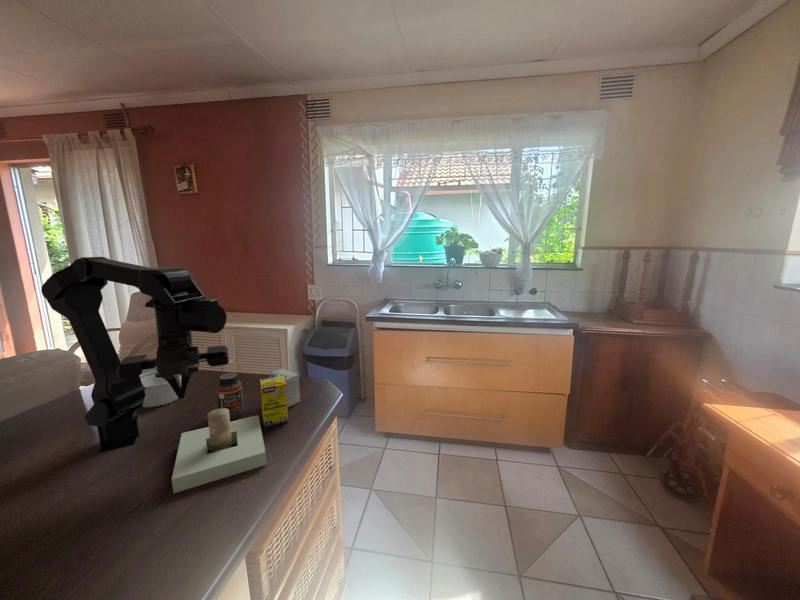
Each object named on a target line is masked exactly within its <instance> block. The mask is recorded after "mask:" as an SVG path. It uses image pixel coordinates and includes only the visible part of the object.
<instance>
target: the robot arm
mask: <svg viewBox="0 0 800 600" xmlns="http://www.w3.org/2000/svg"><path fill="white" fill-rule="evenodd" d="M108 282H113V283H118V284H122V285H126V286H131V287H134V288H137V289H138V290H139V292H140V293H141V294H144V295H146V296H148V297H150V298H151V299H150V300H148V301H147V302H146V303H145V304H144V307H145V308H150V309H151V308H152V309H154V315H155V317H154V318H155V325H156V334H157V341H158V342H157V344H158V346H157V350H156V358H150V359H149V357H148V355H147V354H139V355H131V356H125V357H124V358H123V359H122V360H121V359H120V358H119V356H118V353H117V351H116V349H115V346H114V343H113V341H112V339H111V337H110V334H109V332H108V330H107V327H106V325H105V322H104V321H103V319H102V315H101V313H100V309H101V305H102V303H103V299H104V297H103V293H102V290H103V289H104V288H105V286H107V285H108ZM40 288H41V290H40V291H41V294H42V296H43V298H45V300H46V301H47V302H48V304H49V306H50V308H51V309H52V310H53V311H54V312H56V313H57V314H59V315H62V316H63V317H64V318H66V319H67V320H68V321H69V325H70V326H71V329H72V331H73V333H74V335H75V337H76V340H77V342H78V344H79V345H80V349H81V350H82V353H83V355H84V357H85V360H86V362H87V364H88V367H89V369H90V371H91V373H92V375H93V378H94V384H93V387H92V390H91V394H90V396H91V399H92V402H93V405H92V406H91V408H89V410H88V411H87V412H86V413H85V415H84V419H85V421H86V424H87V425H88V426H93V427H96V428H97V433H98V439H99V446H98V448H97V451H98V452H102V451H106V450H111V449H116V448H119V447H124V446H128V445H133V444H135V443H136V442H137V440H138V437H139V436H140V435H141V434H142V433H141V432H142V424H141V423H142V422H141V417H140V415H138V414H137V411H138V410H141V409H142V408H144V407H143V402H144V397H145V389H146V388H145V387H144V386H143V384H142V382H141V379H140V376H139V375H142V374H143V371H144V370H145V371H146V370H150V369H154V371H156V375H155V377H156V378H163V379H165V380H166V381H167V382H168V383H169V384H170V385H171V387H172V388H173V390H174V392H175V393H176V395H177V397H178V398H179V399H178V400H183V399H185V395H186V391H187V389H188V387H187V386H188V384H189V381H190V379H191V376H192V375H193V374H194V373H197V372H199V368H200V363H204V362H206V363H207V365H208V366H211V367H219V366H226V365H229V348H228V347H227V346H226V345H225V344H224V345H217V346H209V347H207V348H206V349H207V351H206V352H200V349H199V346H194V345H193V336H192V332H195V333H196V332H197V333H209V334H218V333H220V332H221V331H223V329H224V328H225V326H226V324H227V323H226V322H227V313H226V311H225V309H224V308H223V306H221V305H219V304H218V303H219V302H218V299H217V298H207V297H206V296H205V294H204V293H203V290H202V289H200V287H199V286H198V284H197V283H196V281H195V280H194V278H193V277H192V275H191V274H190V273H189V270H187V268H184V267H180V266H178V267H175V266H174V267H173V266H172V267H171V266H170V267H167V266H166V267H165V266H164V267H147V266H143V265H139V264H133V263H130V262H129V263H128V262H124V261H119V260H114V259H111V258H108V257H104V256H88V257H87V256H85V257H80V258H76V259H75V260H74V261H73V262H72V263H71V264H70V265H69V266H65V267H64V268H63V269H60V270H58V271H56V272H54V273H52V274H51V275H50V276H49V277H48V278H47V279H46V281H45V282H44V283H43V284H42V286H41V287H40ZM206 298H207V299H206ZM178 374H179V375H181V377H182V378H181V385H180V380H179V375H178Z"/></svg>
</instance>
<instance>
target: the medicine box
mask: <svg viewBox="0 0 800 600" xmlns="http://www.w3.org/2000/svg"><path fill="white" fill-rule="evenodd" d="M279 376H284V379H285V382H286V390H287V408H290V406H291V407H292V405H293V406H295V405H296V404H298V403H300V402H301V396H300V394H301V393H300V392H301V391H300V381H299V374H297V373H295V372H292V371H289V370H287V369H284V368H279V369H277V370H274V371H272V372H270V373H268V378H272V377H279Z"/></svg>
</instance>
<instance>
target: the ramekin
mask: <svg viewBox="0 0 800 600" xmlns="http://www.w3.org/2000/svg"><path fill="white" fill-rule="evenodd" d="M155 375H156V370H152V371H149V372H146V373H141V374H140V375H139V376H140V379H141V382H142V384H143V386H144V387H145V388H146V389H145V397H144V402H143V407H142V408H155V407H156V406H157V407H161V406H160V405H162V406H165V404H166V405H169V404H171V403H173V401H174V402H176V401H177V399H178V400H180V399H179V398H178V397H177V395H176V393H175V392H174V390H173V388H172V387H171V385H170V384H169V383H168V382H167V381H166V380H165V379H163V378H156V377H155ZM178 375H179V374H178ZM181 378H182V377H181V375H179V380H180V385H181ZM175 400H176V401H175ZM168 403H169V404H168Z"/></svg>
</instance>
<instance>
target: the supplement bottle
mask: <svg viewBox="0 0 800 600" xmlns="http://www.w3.org/2000/svg"><path fill="white" fill-rule="evenodd" d="M215 392H216V400H217V401H216V402H217V409H220V408H226V409H228V410H229V416H230V421H231V420H235V419H237V418H239V417H241V416H242V415H243V414H244V400H243V399H244V397H243V386H242V382H241V381H240V380H238V374H237V373H235V372H229V373H223V374H222V375H220V376H219V384H217V386H216V391H215Z"/></svg>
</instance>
